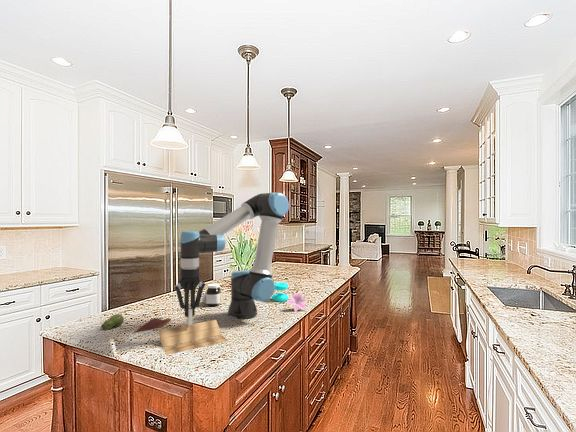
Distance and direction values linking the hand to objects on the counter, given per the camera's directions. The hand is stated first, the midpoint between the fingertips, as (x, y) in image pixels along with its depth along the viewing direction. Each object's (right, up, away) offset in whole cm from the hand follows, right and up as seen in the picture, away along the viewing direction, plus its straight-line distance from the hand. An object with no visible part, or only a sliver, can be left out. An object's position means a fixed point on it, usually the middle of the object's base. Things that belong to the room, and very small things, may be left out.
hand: (189, 323), depth 136 cm
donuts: (+37, -7, +63) cm, 73 cm away
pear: (-40, -7, +15) cm, 44 cm away
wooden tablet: (-22, -7, +13) cm, 27 cm away
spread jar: (-4, -7, +53) cm, 54 cm away
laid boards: (+5, -7, -8) cm, 11 cm away
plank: (+1, -4, -1) cm, 4 cm away
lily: (+47, -7, +43) cm, 63 cm away
